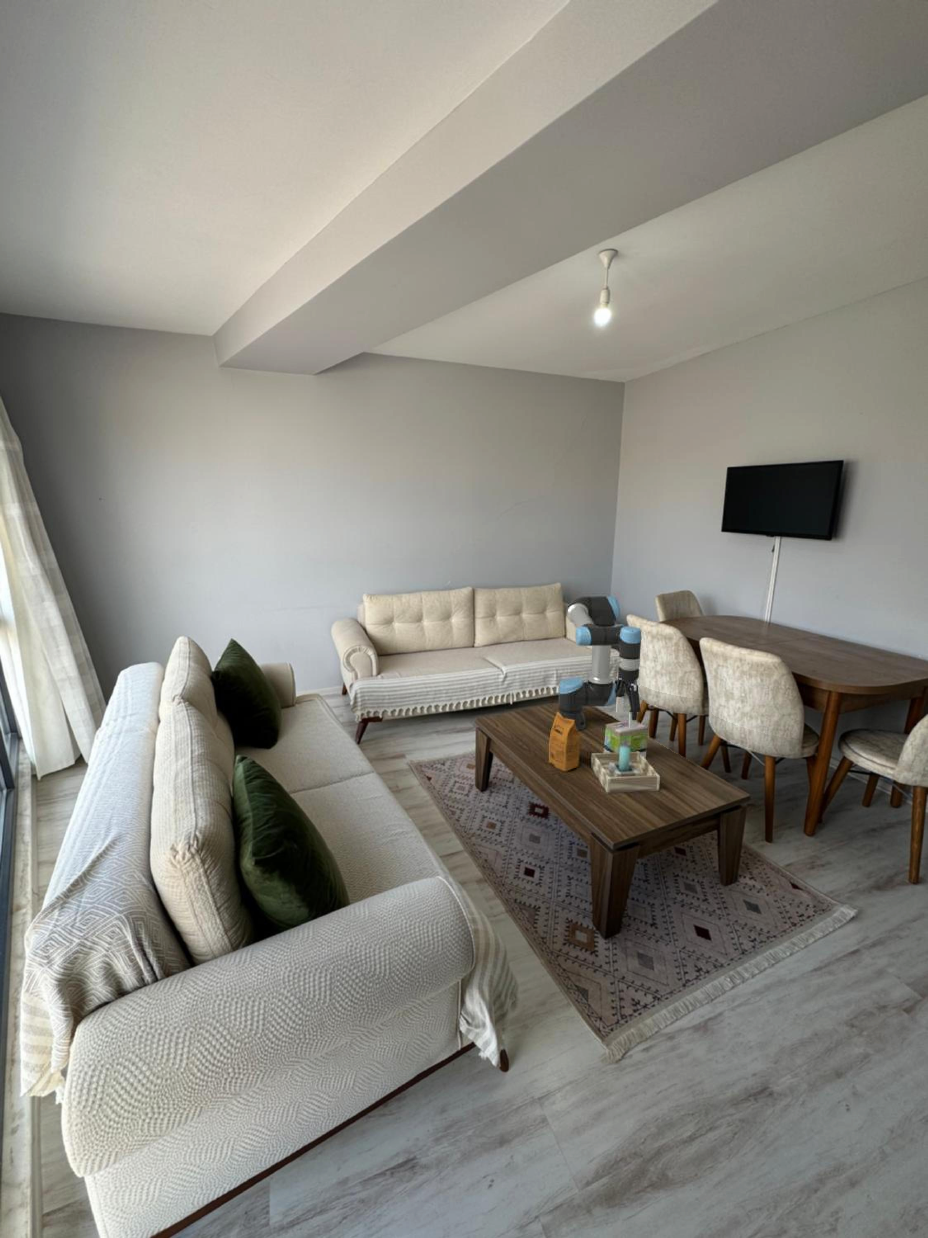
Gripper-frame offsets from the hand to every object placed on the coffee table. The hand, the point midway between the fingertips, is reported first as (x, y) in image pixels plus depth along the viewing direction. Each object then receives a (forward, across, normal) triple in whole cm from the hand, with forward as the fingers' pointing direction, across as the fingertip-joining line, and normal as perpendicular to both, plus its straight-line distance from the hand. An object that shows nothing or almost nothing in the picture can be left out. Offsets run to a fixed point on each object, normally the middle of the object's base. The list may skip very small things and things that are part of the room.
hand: (625, 719), depth 196 cm
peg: (+24, +1, 0) cm, 24 cm away
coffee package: (+25, -12, -21) cm, 35 cm away
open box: (+25, +1, 0) cm, 25 cm away
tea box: (+25, -16, +7) cm, 31 cm away
